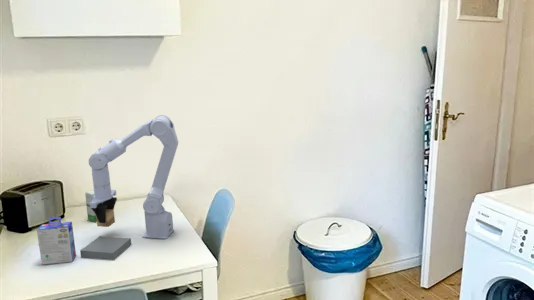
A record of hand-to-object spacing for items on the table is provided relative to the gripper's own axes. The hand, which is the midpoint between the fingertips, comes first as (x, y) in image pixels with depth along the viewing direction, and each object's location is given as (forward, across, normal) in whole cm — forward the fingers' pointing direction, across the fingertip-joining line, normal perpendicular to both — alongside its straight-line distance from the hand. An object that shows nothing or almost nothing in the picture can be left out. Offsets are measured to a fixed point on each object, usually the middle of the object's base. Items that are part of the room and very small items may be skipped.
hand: (106, 220), depth 170 cm
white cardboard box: (+7, -17, -13) cm, 23 cm away
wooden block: (+2, 0, 0) cm, 2 cm away
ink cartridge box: (+7, +20, -6) cm, 22 cm away
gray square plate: (+7, +11, +6) cm, 14 cm away
